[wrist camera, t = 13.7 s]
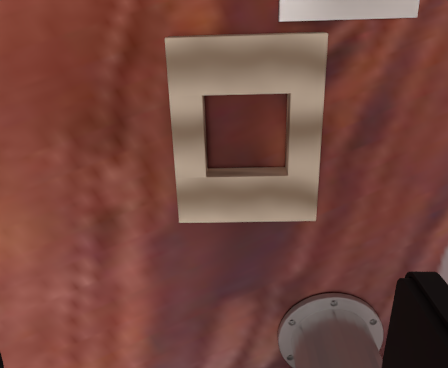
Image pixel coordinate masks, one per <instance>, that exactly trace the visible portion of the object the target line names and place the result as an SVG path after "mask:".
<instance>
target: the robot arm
mask: <svg viewBox="0 0 448 368" xmlns="http://www.w3.org/2000/svg"><path fill="white" fill-rule="evenodd" d="M382 342H383V327H382V323H381V321H380V319H379V317H378V315H377V314H376V312H375V311H374V309H373V308H372V307H371V306H370V305H369V304H368V303H366V302H364V301H363V300H361V299H359V298H357V297H354V296H351V295H347V294H342V293H326V294H319V295H316V296H312V297H309V298H307V299H305V300H303V301H301V302H299V303H298V304H296V305H295V306H293V307H292V308H291V309H290V310H289V311H288V312H287V313H286V315H285V316H284V318H283V319H282V321H281V323H280V326H279V330H278V344H279V349H280V352H281V354H282V356H283V358H284V359H285V361H286V362H287V363H288V364H289V365H290V366H291V367H293V368H448V285H447V283H446V282H445V281H444V280H443V278H442V277H441V276H440V275H439V274H438V273H436V272H408V273H407V274H406V276H405V278H400V279H399V280H398V281H397V285H396V290H395V296H394V301H393V307H392V312H391V318H390V323H389V329H388V334H387V340H386V346H385V351H384V357H383V360H382V357H381V355H380V353H379V350H380V348H381V346H382ZM0 368H4V365H3V361H2V357H1V353H0Z"/></svg>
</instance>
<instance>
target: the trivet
mask: <svg viewBox="0 0 448 368" xmlns="http://www.w3.org/2000/svg"><path fill="white" fill-rule="evenodd" d="M419 1H420V0H279V17H278V21H279V22H283V21H317V20H351V19H385V18H417V15H418V8H419Z"/></svg>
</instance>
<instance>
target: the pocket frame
mask: <svg viewBox="0 0 448 368" xmlns="http://www.w3.org/2000/svg"><path fill="white" fill-rule="evenodd" d="M327 45H328V33H325V32H303V33H268V34H233V35H198V36H168V37H166V38H165V49H166V62H167V75H168V87H169V100H170V112H171V125H172V138H173V150H174V163H175V175H176V188H177V201H178V213H179V223H207V222H274V221H316V212H317V197H318V182H319V166H320V151H321V136H322V121H323V106H324V90H325V75H326V60H327ZM284 93H287V119H286V152H285V167H255V168H208V166H207V145H206V123H205V102H204V95H243V94H284Z"/></svg>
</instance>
